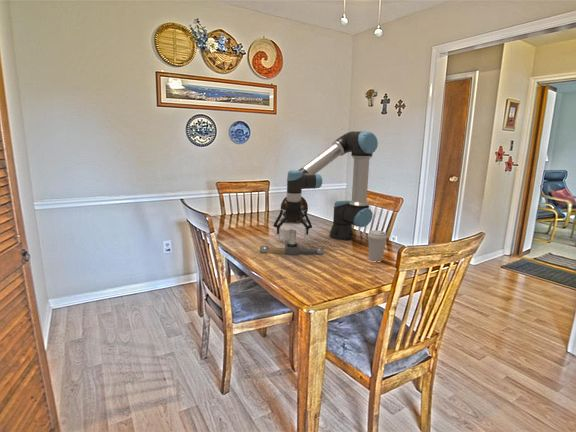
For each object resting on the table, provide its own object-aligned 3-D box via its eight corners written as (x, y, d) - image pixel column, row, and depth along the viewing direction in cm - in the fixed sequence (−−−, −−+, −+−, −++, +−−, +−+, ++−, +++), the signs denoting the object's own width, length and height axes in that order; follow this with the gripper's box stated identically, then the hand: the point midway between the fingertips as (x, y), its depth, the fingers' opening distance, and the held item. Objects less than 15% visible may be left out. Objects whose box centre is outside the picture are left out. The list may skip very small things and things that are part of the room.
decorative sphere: (307, 224, 239) (309, 197, 234) (279, 223, 239) (280, 196, 234) (306, 218, 258) (307, 192, 254) (280, 217, 258) (281, 191, 254)
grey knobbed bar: (322, 251, 183) (323, 244, 183) (324, 255, 176) (324, 248, 175) (260, 249, 183) (260, 242, 182) (259, 253, 175) (259, 246, 174)
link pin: (295, 251, 181) (296, 230, 178) (295, 253, 178) (296, 231, 175) (288, 251, 181) (289, 229, 178) (288, 253, 178) (289, 231, 175)
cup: (292, 242, 196) (293, 229, 195) (275, 243, 194) (276, 229, 193) (290, 239, 203) (290, 226, 201) (274, 239, 201) (274, 226, 199)
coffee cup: (374, 265, 165) (377, 235, 162) (361, 258, 174) (364, 230, 170) (388, 262, 170) (391, 233, 166) (375, 256, 178) (378, 229, 175)
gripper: (317, 200, 177) (315, 238, 182) (270, 198, 176) (269, 237, 181) (318, 202, 170) (316, 242, 174) (269, 201, 169) (268, 241, 174)
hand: (292, 240), depth 178 cm, fingers open, 13 cm apart
